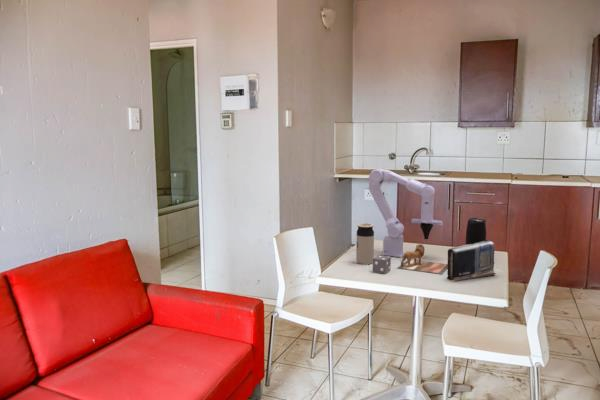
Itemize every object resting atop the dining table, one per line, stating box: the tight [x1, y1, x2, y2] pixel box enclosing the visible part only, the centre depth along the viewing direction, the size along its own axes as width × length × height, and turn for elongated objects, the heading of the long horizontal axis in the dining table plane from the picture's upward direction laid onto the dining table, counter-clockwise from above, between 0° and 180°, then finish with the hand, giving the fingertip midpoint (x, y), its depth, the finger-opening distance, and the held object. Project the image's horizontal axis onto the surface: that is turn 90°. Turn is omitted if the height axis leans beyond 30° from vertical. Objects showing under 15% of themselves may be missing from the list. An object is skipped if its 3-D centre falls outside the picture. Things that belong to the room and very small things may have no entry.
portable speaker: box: [465, 217, 487, 245], centre depth 238 cm, size 9×9×20 cm
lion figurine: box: [400, 243, 425, 267], centre depth 229 cm, size 15×5×9 cm, turn 129°
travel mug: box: [356, 222, 375, 265], centre depth 234 cm, size 8×8×18 cm
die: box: [372, 255, 392, 275], centre depth 220 cm, size 6×6×6 cm
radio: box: [446, 239, 496, 282], centre depth 212 cm, size 23×9×15 cm, turn 105°
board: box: [397, 259, 448, 275], centre depth 227 cm, size 20×17×1 cm
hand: (426, 238), depth 241 cm, fingers closed
